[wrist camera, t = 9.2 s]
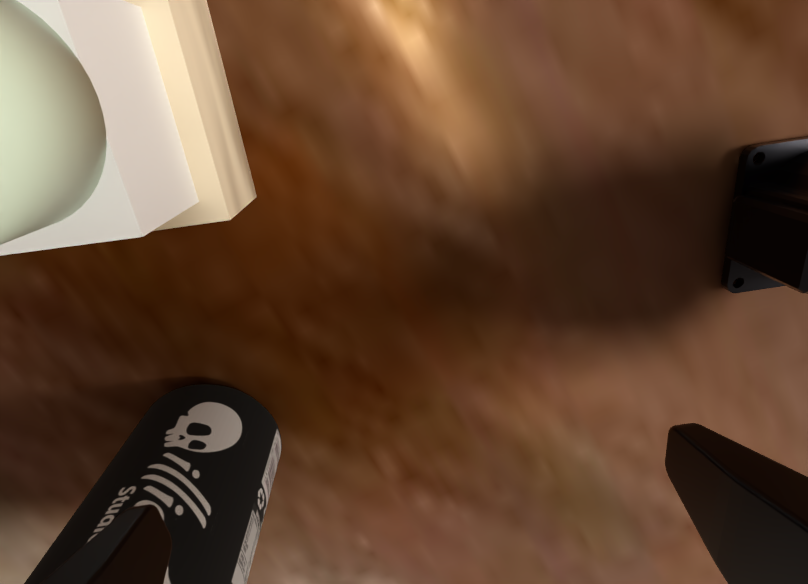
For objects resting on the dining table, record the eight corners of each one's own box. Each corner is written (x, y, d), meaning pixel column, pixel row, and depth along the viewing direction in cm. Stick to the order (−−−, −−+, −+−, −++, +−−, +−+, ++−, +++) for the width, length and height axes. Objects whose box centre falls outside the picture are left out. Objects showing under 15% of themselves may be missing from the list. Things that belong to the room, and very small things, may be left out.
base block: (207, -3, 16) (159, -30, 13) (258, 195, 19) (230, 220, 15) (10, 25, 16) (-97, 6, 13) (89, 219, 19) (21, 249, 15)
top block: (140, 6, 13) (48, -27, 9) (199, 201, 15) (142, 236, 11) (-56, 32, 13) (-228, 8, 9) (31, 223, 15) (-80, 266, 11)
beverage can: (122, 399, 22) (-126, 700, 11) (248, 357, 22) (117, 629, 11) (191, 494, 25) (44, 814, 14) (305, 458, 24) (247, 761, 13)
